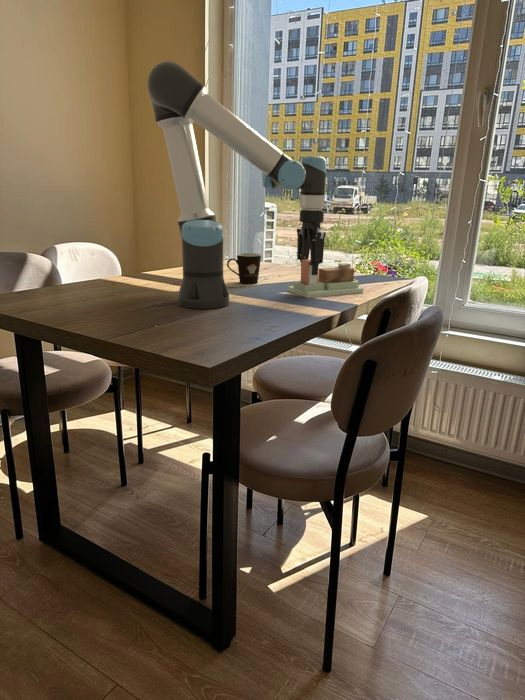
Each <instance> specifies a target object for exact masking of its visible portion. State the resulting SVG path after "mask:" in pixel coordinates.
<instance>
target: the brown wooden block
mask: <svg viewBox="0 0 525 700" xmlns="http://www.w3.org/2000/svg"><path fill="white" fill-rule="evenodd" d="M337 266H338V267H323V268H322V267H321V268H318V281H319V282H322V283H325V289H326V283H337V282H349V281H353V279H355V278H354V277H355V269H354V268H353V267H351V263H347V262H344V263H343V262H342V263H340V262H339V263H338V265H337Z"/></svg>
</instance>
